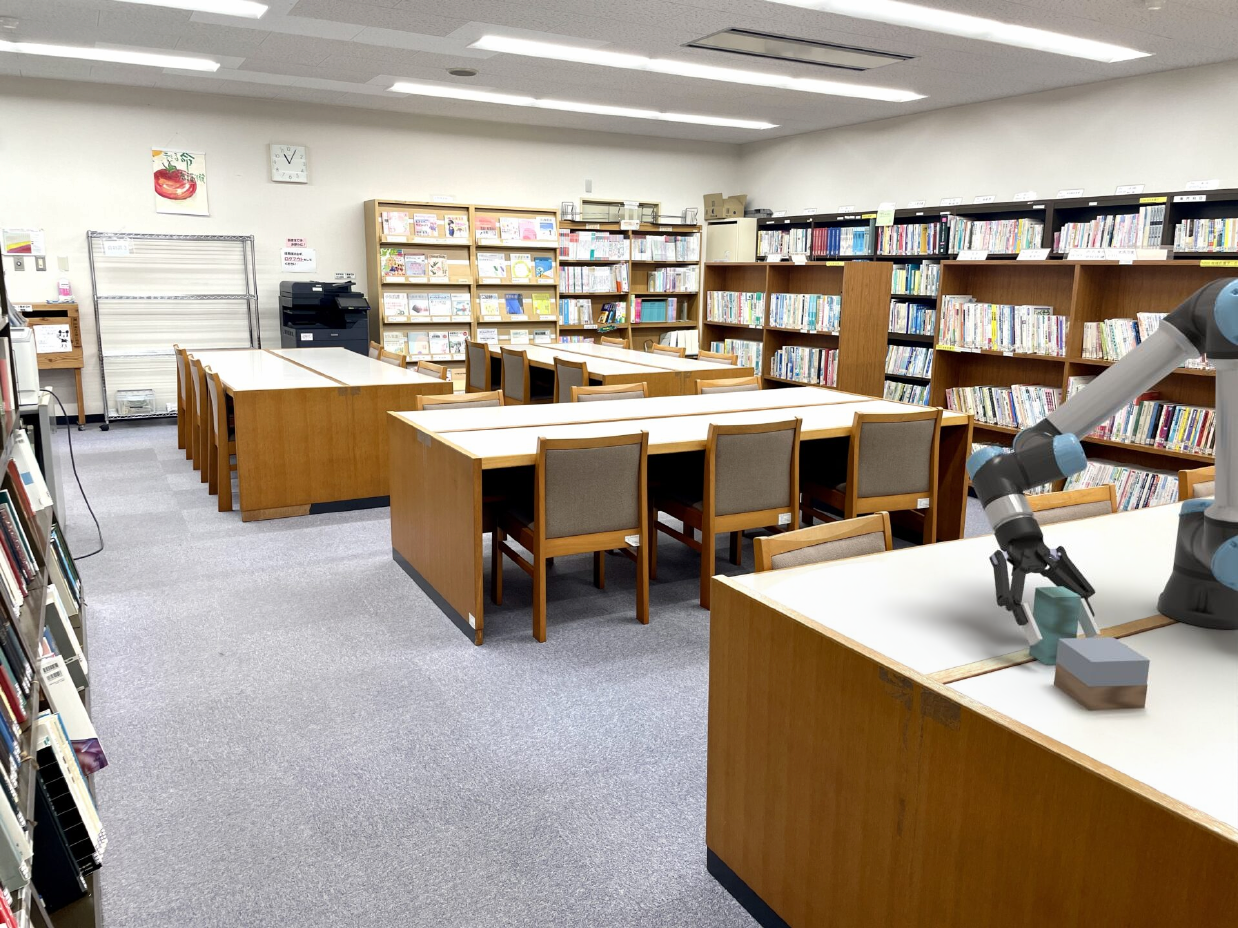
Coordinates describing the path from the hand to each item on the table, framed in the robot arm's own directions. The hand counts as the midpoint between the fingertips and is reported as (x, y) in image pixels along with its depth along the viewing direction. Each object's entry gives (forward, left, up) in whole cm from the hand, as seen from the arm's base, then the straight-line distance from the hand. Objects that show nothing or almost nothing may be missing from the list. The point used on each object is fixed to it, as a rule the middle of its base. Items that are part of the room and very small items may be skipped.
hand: (1065, 639), depth 148 cm
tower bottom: (+1, +11, -5) cm, 12 cm away
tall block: (0, -3, -5) cm, 5 cm away
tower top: (+2, +11, -1) cm, 11 cm away
